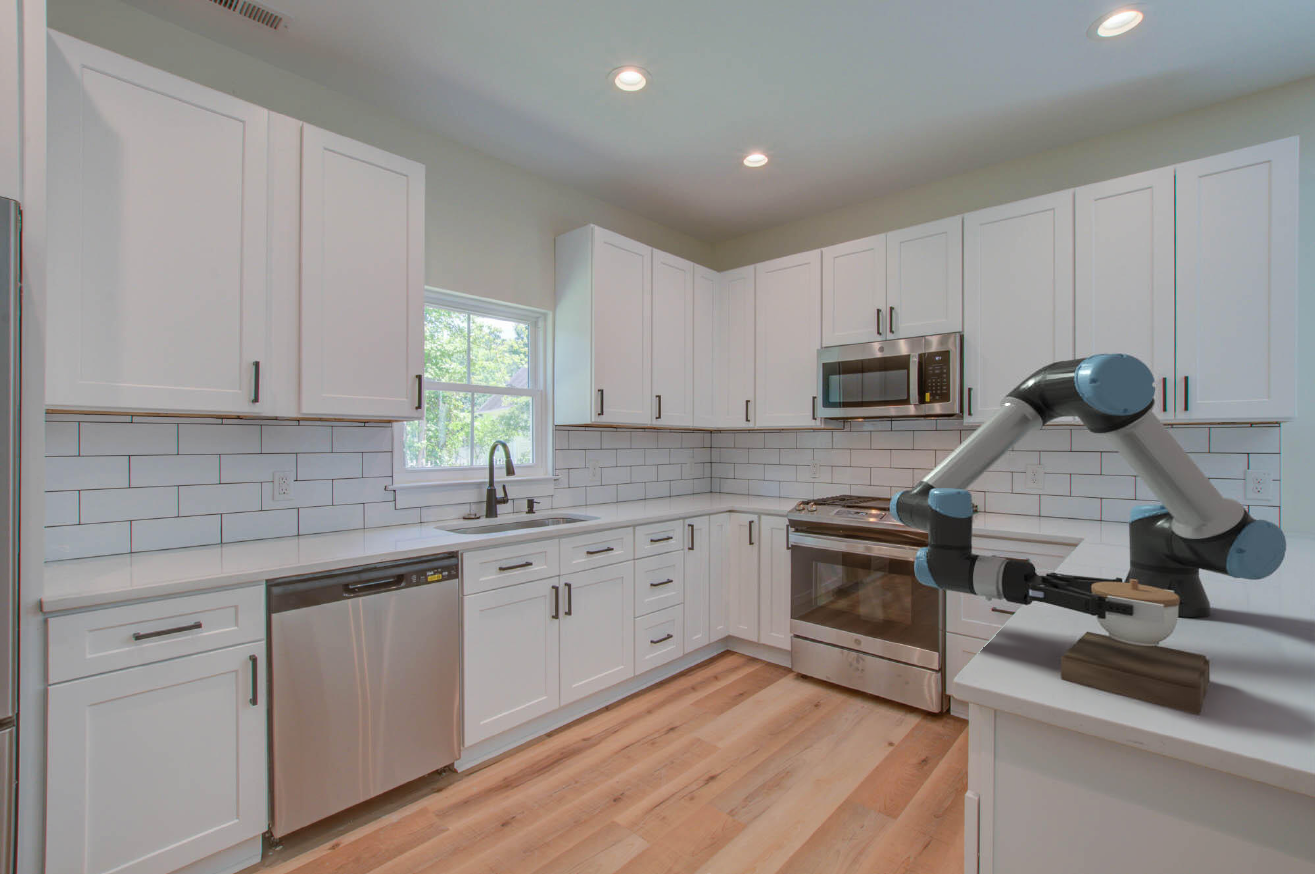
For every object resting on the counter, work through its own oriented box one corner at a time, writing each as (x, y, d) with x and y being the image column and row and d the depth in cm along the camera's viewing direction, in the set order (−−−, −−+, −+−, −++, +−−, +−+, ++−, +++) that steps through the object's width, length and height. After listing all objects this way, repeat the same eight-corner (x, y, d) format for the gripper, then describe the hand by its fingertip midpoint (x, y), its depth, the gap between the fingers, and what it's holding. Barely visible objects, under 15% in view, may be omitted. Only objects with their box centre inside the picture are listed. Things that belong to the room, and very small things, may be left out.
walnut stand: (1084, 652, 102) (1084, 630, 102) (1209, 680, 90) (1209, 655, 90) (1061, 678, 91) (1061, 653, 91) (1199, 714, 80) (1199, 685, 80)
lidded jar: (1197, 654, 85) (1198, 590, 85) (1114, 648, 87) (1114, 586, 87) (1151, 630, 95) (1151, 573, 95) (1077, 625, 97) (1078, 570, 97)
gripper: (1025, 589, 112) (1178, 615, 96) (983, 613, 96) (1157, 650, 80) (1026, 550, 112) (1178, 570, 96) (983, 568, 96) (1157, 596, 80)
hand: (1168, 606), depth 88 cm, fingers closed on lidded jar, 11 cm apart
